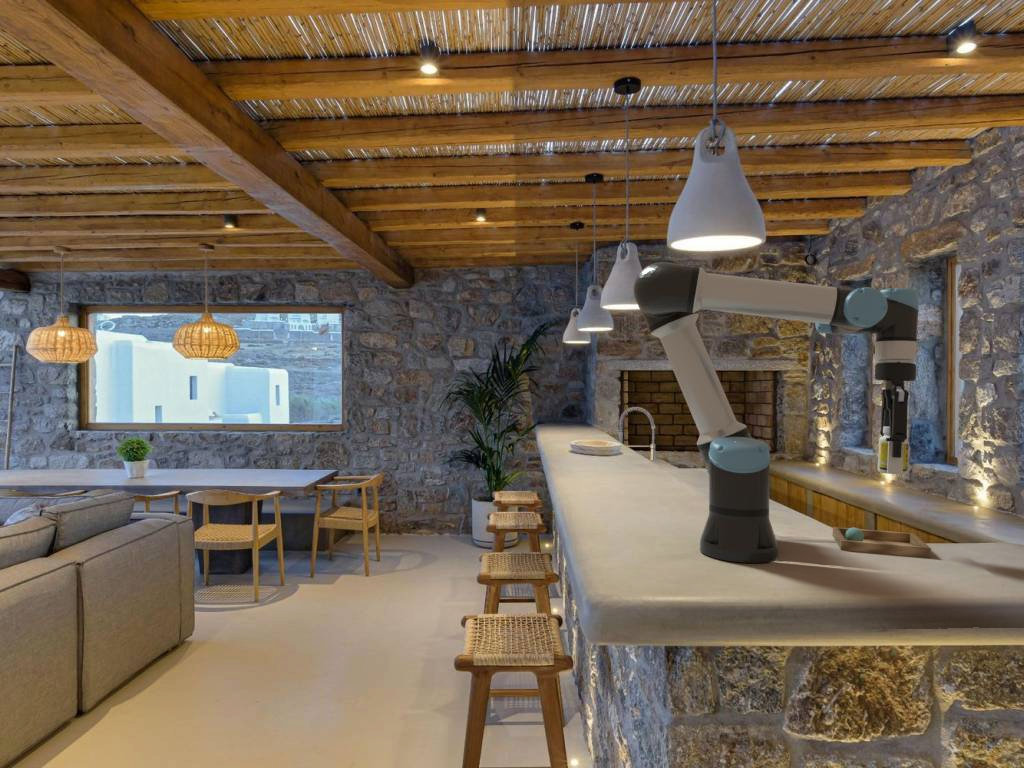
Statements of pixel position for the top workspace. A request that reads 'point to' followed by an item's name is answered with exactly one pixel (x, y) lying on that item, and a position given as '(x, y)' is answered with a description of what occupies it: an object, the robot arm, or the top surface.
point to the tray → (883, 543)
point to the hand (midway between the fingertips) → (891, 471)
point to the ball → (854, 534)
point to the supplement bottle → (884, 453)
